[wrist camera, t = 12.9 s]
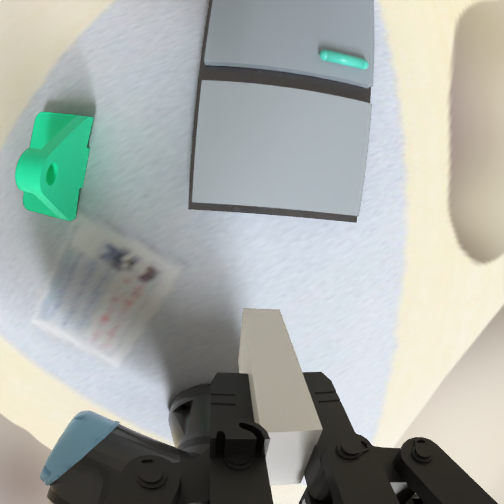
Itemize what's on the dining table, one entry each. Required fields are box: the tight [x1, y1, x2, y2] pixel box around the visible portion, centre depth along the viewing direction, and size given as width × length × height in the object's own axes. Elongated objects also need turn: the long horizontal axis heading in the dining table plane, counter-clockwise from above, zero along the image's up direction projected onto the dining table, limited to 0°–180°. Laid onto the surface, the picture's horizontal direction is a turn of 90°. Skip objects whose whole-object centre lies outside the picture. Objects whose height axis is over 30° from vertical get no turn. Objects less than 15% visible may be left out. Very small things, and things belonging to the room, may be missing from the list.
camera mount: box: [15, 112, 94, 221], centre depth 26 cm, size 12×8×10 cm, turn 164°
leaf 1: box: [204, 0, 374, 88], centre depth 24 cm, size 12×17×3 cm
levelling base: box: [188, 0, 371, 222], centre depth 29 cm, size 28×18×3 cm, turn 175°
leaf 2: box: [192, 80, 372, 216], centre depth 29 cm, size 12×17×2 cm
